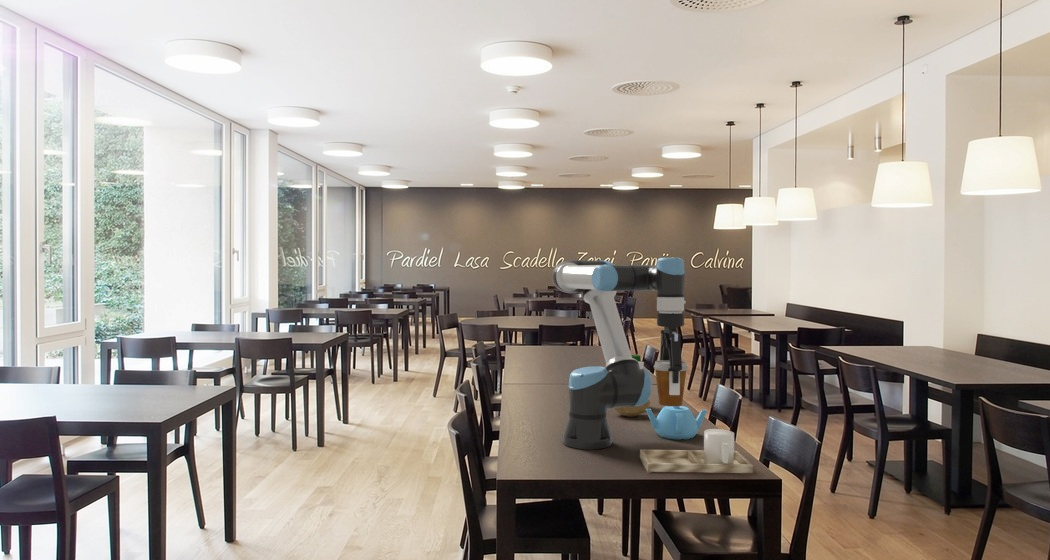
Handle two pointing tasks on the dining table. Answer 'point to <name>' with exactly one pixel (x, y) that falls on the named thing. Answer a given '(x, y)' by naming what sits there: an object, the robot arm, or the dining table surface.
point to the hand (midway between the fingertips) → (670, 391)
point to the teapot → (676, 422)
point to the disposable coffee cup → (663, 383)
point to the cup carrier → (690, 462)
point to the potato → (633, 409)
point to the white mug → (718, 446)
